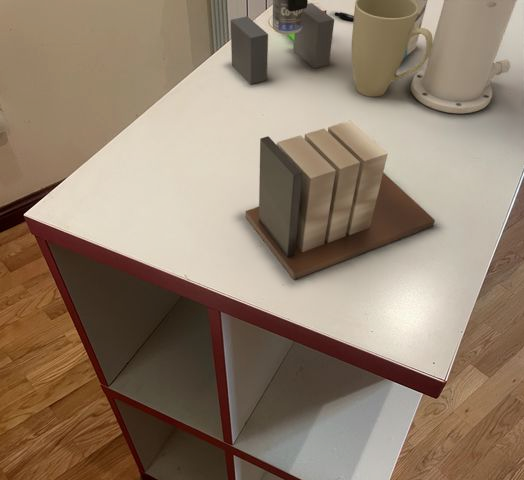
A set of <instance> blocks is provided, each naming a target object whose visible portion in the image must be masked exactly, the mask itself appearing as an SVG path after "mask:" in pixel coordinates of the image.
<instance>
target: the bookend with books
mask: <svg viewBox="0 0 524 480" xmlns="http://www.w3.org/2000/svg"><path fill="white" fill-rule="evenodd" d="M388 155H389V154H388V152H387V151H386V150H384V148H383V147H382V146H380V145H379V144H378V143H376V141H374V140H373V138H371V137H370V136H368V134H367V133H365V131H363V130H362V129H361V128H360V127H359V126H357V124H355V123H354V122H353V121H352V120H348V121H345V122H342V123H337V124H334V125H331V126H328V128H327V130H326V128H321V129H317V130H313V131H310V132H306V133H304V137H303V136H302V135H296V136H294V137H289V138H287V139H283V140H281V141H277V142H276V143H275V141H273V140H272V138H271V137H270V136H269V135H267V136H264V137H261V138H260V139H259V185H258V186H259V189H258V206H256V207H254V208H251V209H248V210H245V218H246V220H247V221H248V222H249V224H250V225H251V226H252V228H253V229H254V230H255V231H256V233H257V234H258V235H259V236H260V238H261V240H262V241H263V242H264V243H265V244H266V246H267V247H268V248H269V250H270V251H271V252H272V254H273V255H274V256H275V258H276V259H277V260H278V261H279V263H280V264H281V265H282V266H283V268H284V270H286V272H287V273H288V274H289V275H290V278H292V279H293V280H297V279H300V278H303V277H305V276H307V275H310V274H314V273H315V272H318V271H320V270H323V269H325V268H328V267H331V266H333V265H336V264H338V263H341V262H344V261H346V260H349V259H351V258H354V257H357V256H359V255H362V254H364V253H367V252H369V251H372V250H376V249H379V248H380V247H382V246H385V245H388V244H390V243H394V242H396V241H398V240H401V239H403V238H406V237H409V236H411V235H414V234H416V233H419V232H423V231H424V230H427V229H430V228H433V226H434V224H435V221H436V220H435V219H434V217H432V216H431V215H430V214H429V213H428V212H427V211H426V210H425V209H424V208H423V207H421V205H419V204H418V203H417V202H416V201H415V200H414V199H413V198H412V197H411V196H410V195H408V194H407V192H406V191H404V190H403V189H402V187H400V186H399V185H398V184H397V183H396V182H395V181H393V180H392V179H391V178H390V177H389V176H388V174H386V173H385V172H384V171H385V167H386V164H387V159H388Z"/></svg>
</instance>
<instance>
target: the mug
mask: <svg viewBox="0 0 524 480" xmlns="http://www.w3.org/2000/svg"><path fill="white" fill-rule="evenodd" d="M418 9H419V8H418V5H417V4H416V3H415V2H414V1H413V0H355V3H354V12H353V16H354V21H352V22H353V23H352V34H351V64H352V71H353V77H354V86H355V90H356V92H358V93H359V94H360V95H363V96H366V97H381V96H383V95H384V94H385V93H386V91H387V90H388V88H389V86H390V84H391V83H392V82H393V81H394V82H395V81H397V80H398V81H399V80H400V79H402V78H404V77H406V76H409V75H410V74H412V73H414V72H415V71H418V69H420V68H421V67H422V66H423V65H424V64H425V63H426V62H427V61H428V58H429V55H430V52H431V48H432V44H433V40H434V38H433V34H432V32H431V31H430V30H429V29H428V28H425V27H421V28H413V27H414V24H415V20H416V17H417V13H418ZM416 34H419V35H423V37H424V38H425V42H426V43H425V44H426V48H425V52H424V56H423V58H422V59H421V61H420V62H419V63H417V64H416V65H415V66H413V67H412V68H410V69H408V70H406V71H405V72H403V73H401V74H397V73H398V70H399V68H400V66H401V64H402V62H403V60H404V59H403V57H404V55H405V52H406V49H407V46H408V43H409V40H410V38H411V37H412V36H414V35H416Z"/></svg>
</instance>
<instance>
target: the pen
mask: <svg viewBox="0 0 524 480" xmlns="http://www.w3.org/2000/svg"><path fill="white" fill-rule="evenodd" d="M334 16H335V17H338V19H340V20H342V21H346V22H354V15H352V14H349V13H345V12H341V11H340V12H337V11H336V12H334Z"/></svg>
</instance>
